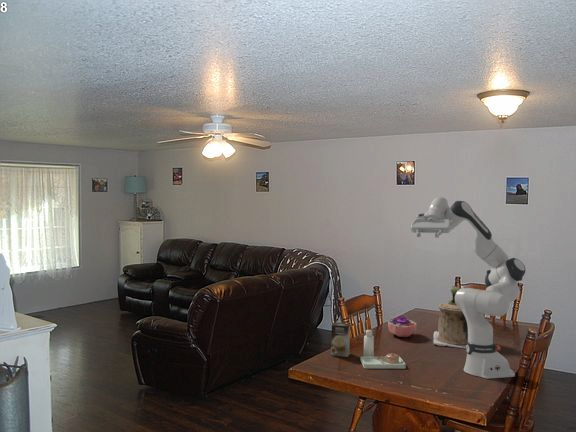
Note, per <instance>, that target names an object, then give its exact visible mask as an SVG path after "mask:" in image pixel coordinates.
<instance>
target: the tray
mask: <svg viewBox="0 0 576 432" xmlns="http://www.w3.org/2000/svg"><path fill="white" fill-rule="evenodd" d="M359 358H360V362H361V365H362V366H363V368H364V369H394V370H395V369H406V368H407V367H406V366H407V364H406V363H405V362H404V360H403V359H402V358H401V356H399V363H398V364H390V363H387V362H386V356H374V357H365V356H364V355H362V356H360V357H359Z"/></svg>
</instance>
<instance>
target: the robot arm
mask: <svg viewBox="0 0 576 432" xmlns="http://www.w3.org/2000/svg"><path fill="white" fill-rule="evenodd" d="M415 217H416V218H414V220H413V221H412V222H411V225H410V230H411V233H416V237H417V238H421V236H422V235H421V234H422V233H428V234H432V233H433V234H434V237H435V238H439V237H440V236H441V235H442V234H449V233H450V232H451V231H452V230H454V229H455V228H457V227H458V226H459V225H460V224H461V223H462V222H464V221H467V222H468V224H469V225H471V227H472V228H473V229H474V230H475V231H476V234H477V235H476V239H475V240H474V243H473V253H475V255H476V256H477V257H478V258H479V259H481V260H482V261H483V262H485V263H486V264H488V266H489V268H490V269H488V270H486V275H485V277H484V284H485V286H486V288H485V290H484V289H478V288H473V287H469V288H468V287H466V288H465V287H464V288H460V289H459V290H458V291H457V293H456V295H455V303H456V305H457V306H458V307H459V308H460V309H461V311H462V312H463V314H464V316H465V318H466V321H467V326H468V341H467V346H466V348H465V349H466V359H465V364H464V367H463V371H464V372H465V373H467V374H469V375H471V376H475V377H479V378H482V379H488V380H489V379H499V378H513V377H514V378H515V377H516V373H515V372H514V370H512V369H511V368H510V364H509V361H508V359H507V358H506V357H504V356H503V355H502V354H501V353H500V352H499V351H501V346H500V345H499V344H496V343H495V342H493V341H494V340H493V339H494V327H493V325H492V324H491V323H490V322H488V321H487V319H486V318H485V316H493V317H495V316H496V317H503V316H504V315H506V314H507V313H508V312H509V309H510V304H511V303H512V302H514V301H515V300H517V298H519V296H520V295H521V294H520V293H521V290H520V287H519V286H518V285H519V284H518V282H521V281H523V277H524V276H525V274H526V265H525V264H524V262H523V261H521V260H520V259H518V258H517V257H512V258H509V256H508V254H507V253H506V252H505V251H504V250H503V248H502V247H501V246H499V244H497V243H496V242H495V241H494V239H493V237H492V232H491V230H490V229H489V227H487V226H486V224H485V223H484V222H483V221H482V219H481V218H480V217H479V216H478V215H477V214H476V213H475V211H474V210H473V209H472V207H471V206H470V204H469V203H468V202H466V201H465V200H456V201H454V203H453V204H452V205H451V206H449V203H448V200H447V198H445V197H441V196H440V197H436V198H434V199H433V200H432V201H431V203H430V205H429V207H428V211H426V212H423V213H418V214H417V215H415ZM484 315H485V316H484Z"/></svg>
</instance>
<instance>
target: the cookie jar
mask: <svg viewBox="0 0 576 432" xmlns="http://www.w3.org/2000/svg"><path fill="white" fill-rule="evenodd" d="M459 289H461V288H460V287H458V286H456V285H452V288H451V289H450V292H451V294H452V300H451V299H450V300H449V301H448V302H444V303H439V305H438V309H439V316H438V321H437V322H438V324H437V330H436V331H434V332H433V335H432V337H433V345H436V346H440V347H449V348H456V349H458V348H459V349H466V346H467V341H468V326H467V321H466V318H465V316H464V314H463V312H462V311H461V309H460V308H459V307H458V306H457V305H456V303H455V295H456V293H457V291H458V290H459Z"/></svg>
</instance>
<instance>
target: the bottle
mask: <svg viewBox="0 0 576 432" xmlns="http://www.w3.org/2000/svg"><path fill="white" fill-rule="evenodd" d="M374 337H375V336H374V335H373V330H371V329H366V330H365V335H364V336H363V356H365V357H375V354H374V352H375V349H374V348H375V347H374V346H375V339H374Z"/></svg>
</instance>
